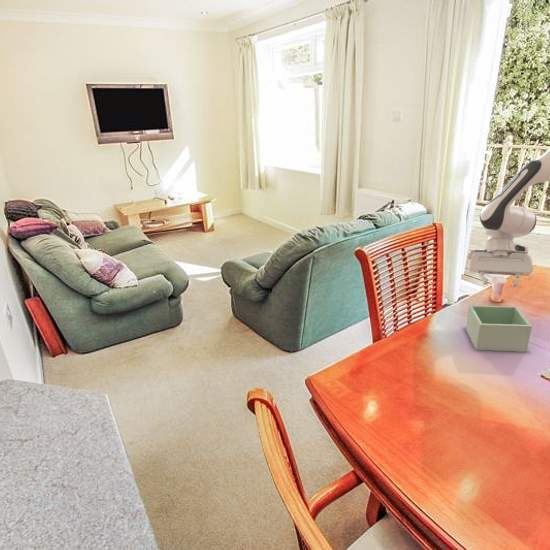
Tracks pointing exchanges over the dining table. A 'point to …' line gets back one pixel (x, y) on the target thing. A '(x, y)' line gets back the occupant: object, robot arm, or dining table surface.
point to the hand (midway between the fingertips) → (499, 285)
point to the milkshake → (498, 288)
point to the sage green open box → (498, 328)
